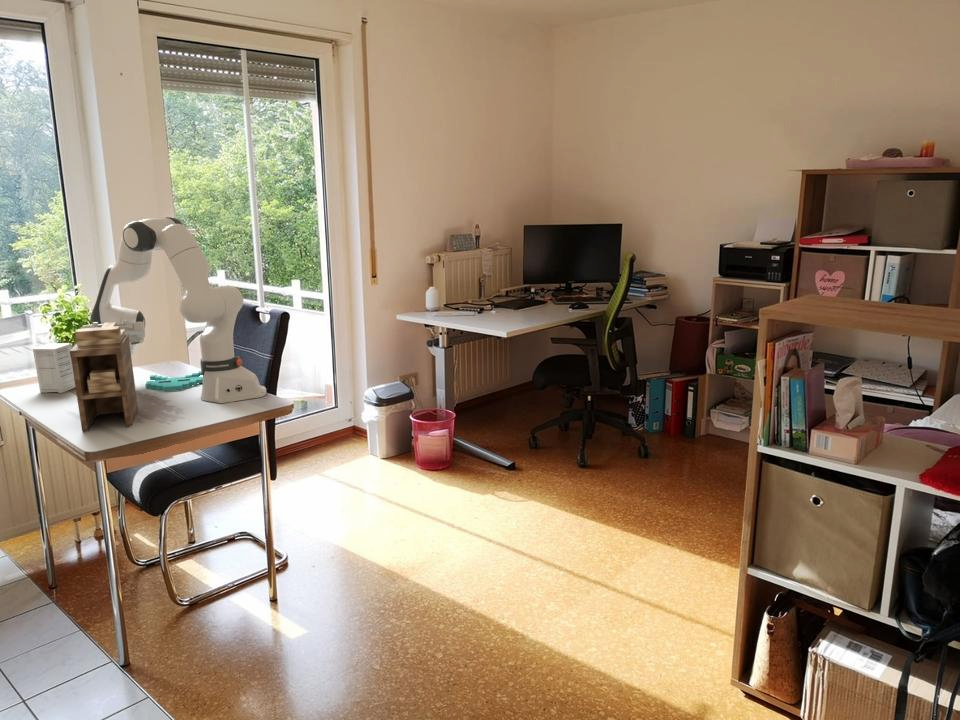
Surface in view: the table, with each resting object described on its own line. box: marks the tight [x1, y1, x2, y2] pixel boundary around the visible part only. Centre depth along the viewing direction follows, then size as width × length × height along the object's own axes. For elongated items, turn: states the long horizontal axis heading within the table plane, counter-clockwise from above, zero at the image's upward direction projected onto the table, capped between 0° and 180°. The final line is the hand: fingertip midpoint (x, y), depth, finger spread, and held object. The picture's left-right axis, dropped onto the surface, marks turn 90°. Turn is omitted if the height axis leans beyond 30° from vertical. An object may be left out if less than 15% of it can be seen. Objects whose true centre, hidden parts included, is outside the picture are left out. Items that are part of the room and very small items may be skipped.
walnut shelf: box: [70, 335, 139, 433], centre depth 238 cm, size 14×20×26 cm
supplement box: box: [32, 342, 76, 394], centre depth 276 cm, size 10×9×17 cm
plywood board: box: [74, 322, 126, 346], centre depth 244 cm, size 12×28×4 cm, turn 18°
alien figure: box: [145, 370, 203, 392], centre depth 283 cm, size 20×2×20 cm
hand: (110, 323), depth 256 cm, fingers open, 8 cm apart
